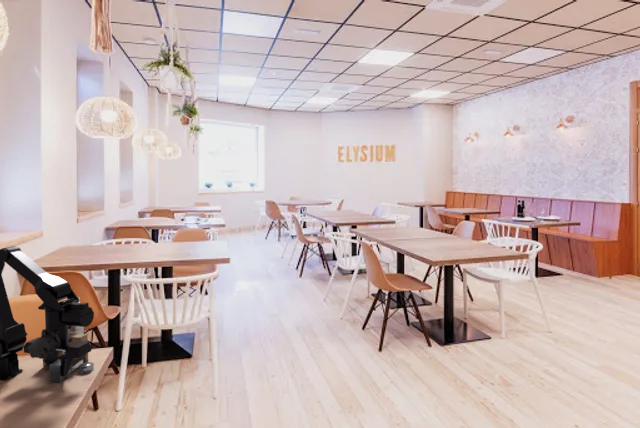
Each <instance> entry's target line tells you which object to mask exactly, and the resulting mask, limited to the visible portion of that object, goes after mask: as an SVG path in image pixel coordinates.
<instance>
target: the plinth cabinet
mask: <svg viewBox="0 0 640 428" xmlns="http://www.w3.org/2000/svg"><path fill="white" fill-rule="evenodd" d="M68 335H69V338H72V342H70V343H69V344H68V345H72V344H74V343H76V342H79V341H81V342H89V341H88V334H86V333H84V334H77V333H68ZM62 353H63V351H58V357H59V356H61V355H62ZM76 359H83V363H86V362H89V352H88V353H87V354H85V355H83V356H81V357H79V358H74V360H73V361H75V360H76ZM57 360H58V359H57ZM73 361H72V362H73ZM42 367H43V368H45V369H46V368H48V367H47V365H46V363H45V361H44V360H43V359H42Z"/></svg>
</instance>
